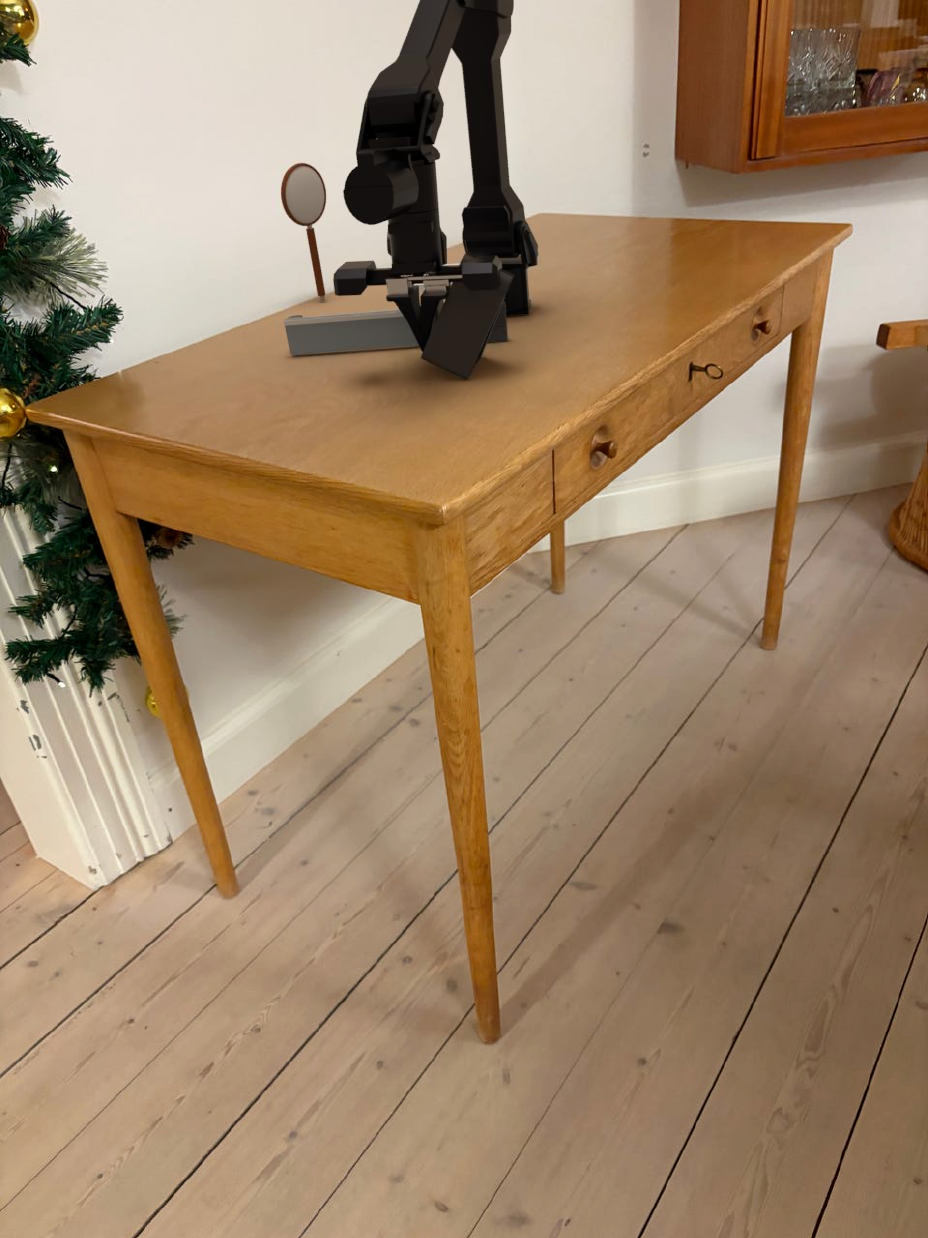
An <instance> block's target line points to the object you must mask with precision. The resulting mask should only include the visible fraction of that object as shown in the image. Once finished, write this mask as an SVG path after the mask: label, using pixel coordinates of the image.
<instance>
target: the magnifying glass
mask: <svg viewBox="0 0 928 1238" xmlns="http://www.w3.org/2000/svg"><path fill="white" fill-rule="evenodd" d="M280 185H281V187H280V197H281V203H282V206H283V207H282V208H283V210H284V212H285V214H286V215H287V217H289V219H290V220H291V221H292V223H294V224H296V225H299V226H302V227H306V229H305V231H306V236H307V241H308V248H309V253H310V259H311V264H312V269H313V277H314V280H315V281H314V282H315V287H316V291H317V292H316V293H317V296H318V297H319V300H320V301H321V302H322V301H324V302H325V300H326V298H325V297H326V290H325V284H324V279H323V272H322V267H321V262H320V255H319V251H318V250H319V249H318V245H317V244H318V243H317V239H316V231H315V228H314V227H313V225H314V224H316V223H317V222H319V220H320V219H321V218H322V215H323V214H324V212H325V209H326V204H327V189H326V186H325V181H324V178H323V177H322V175H321V174H320V172H319V171H318V170H317V169H316V168H315V167H314V166H312V165H311V164H309V163H305V162H298V163H294V164H293V165H292V166H290V167H289V168H288V169H287V170H286V172H285V174H284V175H283V178H282V182H281V184H280Z"/></svg>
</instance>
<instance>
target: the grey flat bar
mask: <svg viewBox="0 0 928 1238" xmlns="http://www.w3.org/2000/svg"><path fill="white" fill-rule="evenodd" d="M283 324H284V328H285V333H286V337H287V342H288V343H287V344H288V348H289V354H290V356H295V355H311V354H324V353H336V352H351V351H352V352H353V351H364V350H365V351H366V350H376V349H377V350H378V349H392V348H406V347H416V346H418V347H419V345H418V343H417V341H416V339H415V336H414V334H413V332H412V330H411V328H410V326H409V324H408V322H407V321H406V319H405V317H404V316H403V314H402V313H401V311H400V310H399V309H389V310H388V309H387V310H379V311H378V310H377V311H366V312H365V311H364V312H352V313H350V312H349V313H339V314H338V313H337V314H326V315H312V316H303V317H299V318H288V317H286V318H285V319H284V320H283Z"/></svg>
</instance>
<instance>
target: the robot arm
mask: <svg viewBox="0 0 928 1238" xmlns="http://www.w3.org/2000/svg"><path fill="white" fill-rule="evenodd" d="M514 5H515V2H514V0H419V1H418V4H417V5H416V6H417V7H416V8H415V9H416V10H415V12H414V15H413V17H412V20H411V23H410V25H409V27H408V31H407V33H406V36H405V37H404V38H405V39H404V41H403V43H402V46H401V48H400V51H399V55H398V56H397V58H396V59H395V61H394V62H392V63H390V65H388V66H387V67H385V68H383V70H381V71H380V72H379V73H378V75H377V77H376V78H375V80H374V81H373V83H372V84H371V86H370V88H369V90H368V92H367V96H366V98H365V101H364V104H363V110H362V115H361V122H360V127H359V133H358V139H357V144H356V151H355V156H356V158H355V159H356V164H357V165H356V166H355V167H354V168H352V170H350V172H349V173H348V175H347V177H346V179H345V182H344V188H343V190H342V191H343V192H342V193H343V199H344V203H345V206H346V208H347V210H348V212H349V213H350V214H351V216H352V217H353V218H354V219H355V220H356V221H358V222H360V223H362V224H364V225H369V226H375V225H378V224H381V223H383V222H386V221H387V232H386V233H387V234H386V235H387V236H386V250H387V254H388V255H389V256H390V257H391V267H383V268H381V267H380V268H379V267H377V264H376V262H375V260H355V261H353V260H352V261H345V262H344V263H343V264H342V265H340V266H339V267H338V268H337V269H336V271H334V273H333V279H332V280H333V290H334V295H335V296H338V297H343V296H344V297H345V296H347V297H349V296H362V295H363V293H364V292H365V291H366V289H367V288H368V287H370V286H371V287H374V286H386V289H387V295H386V297H385V299H386V300H385V301H387V302H389V303H392V302H393V303H394V304H395V306H396V307H397V308H398V310H400V311H401V313H402V314H403V316H404V317H405V319H406V321H407V322H408V324H409V326H410V328H411V330H412V332H413V334H414V336H415V339H416V341H417V343H418V345H419V346H418V347H419V350H421V353H423V350H424V348H425V346H426V343H427V341H428V339H429V337H430V334H431V330H432V325H433V321H434V317H435V313H436V310H437V307H438V305H439V302H440V300H443V301H444V300H445V299H446V298H447V297H448V295H449V290H450V288H451V282H463V285H464V286H465V287H466V288H468V289H469V290H470V291H478V290H495V289H498V288H499V286H500V271H501V269H504V270H506V271H508V272H510V273H512V274H514V277H513V280H512V282H511V284H510V287H509V289H508V291H507V294H506V296H505V299H504V301H505V306H506V317H510V316H511V317H513V316H522V315H523V316H525V315H526V316H527V315H529V314H530V310H531V306H532V299H530V291H529V290H530V289H529V276H528V275H529V273H528V269H529V268H530V267H535V266H538V262H539V261H538V257H539V251H538V250H539V245H538V242H537V240H536V238H535V235H534V234H533V231H532V230H531V228H530V225H529V224H528V222H527V221H526V215H525V207H524V204H523V202H522V201H521V199H520V197H519V196H518V195H517V193H516V192H515V190H514V189H513V188H512V186H511V183H510V172H509V171H510V170H509V169H510V168H509V160H508V158H509V157H508V145H507V134H506V133H507V129H506V118H505V106H504V103H505V102H504V93H503V91H504V90H503V79H502V78H503V77H502V65H501V57H502V55H503V53H504V50H505V48H506V46H507V43H508V41H509V39H510V36H511V33H512V16H513V13H514V8H515V6H514ZM451 50H452V52H454V54H455V56H456V58H457V59H458V61H459V62H460V63H461V68H462V80H463V82H462V83H463V91H464V100H465V111H466V121H467V122H466V123H467V133H468V134H467V135H468V146H469V152H470V154H469V155H470V165H471V166H470V167H471V177H472V186H473V191H472V194H471V196H470V199H469V201H468V203H467V205H466V206H464V208H463V209H462V212H461V218H462V225H463V227H462V233H461V234H462V236H461V238H462V245H463V249H464V251H465V253H464V254H466V252H468V253H470V254H472V255H474V256H477V257H478V258H475V259H474V260H465V261H464V262H463V264H462V266H461V267H459V265H446V264H448V252H447V251H448V242H447V239H448V238H447V235H446V234H445V232H444V230H443V229H442V228H441V222H440V211H439V210H440V207H439V195H438V180H437V167H436V166H437V164H436V161H437V160H440V158H441V153H440V151H439V150H438V149H437V147H436V146H434V145H435V144H436V141H437V136H438V132H439V130H440V128H441V124H442V121H443V118H444V106H445V103H444V99H443V97H442V93H441V92H440V89H439V88H440V82H441V79H442V75H443V73H444V71H445V67H446V65H447V62H448V59H449V57H450V53H451ZM442 230H443V231H442ZM443 265H445V266H443ZM461 268H462V269H461ZM414 284H423V285H424V287H425V291H424V290H423V291H424V292H423V291H422V294H420V291H419V285H415V286H414ZM504 301H503V302H504Z"/></svg>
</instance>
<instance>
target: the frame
mask: <svg viewBox="0 0 928 1238" xmlns="http://www.w3.org/2000/svg"><path fill="white" fill-rule="evenodd" d="M424 291H425V290H423V291H422V293H423V292H424ZM443 304H444V299H443V300H440V302H439V305H438V307H437V310H436V313H435V317H434V321H433V325H432V330H433V327H434V325H435V323H436V320H437V318H438V316H439V313H440V311H441V309H442V306H443ZM299 317H304V316H303V315H301V314H299V315H292V316H288V317H287V318H299ZM507 320H508V319H507V316H506V306H505V301H504V302H503V304H502V306H501V309H500V311H499V314H498V316H497V319H496V322H495V324H494V327H493V329H492V332H491V334H490V337H489V339H488V342H487V344H490V343H503V342H505V343H506V342H509V334H508V333H509V332H508V321H507ZM432 330H431V332H432Z"/></svg>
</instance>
